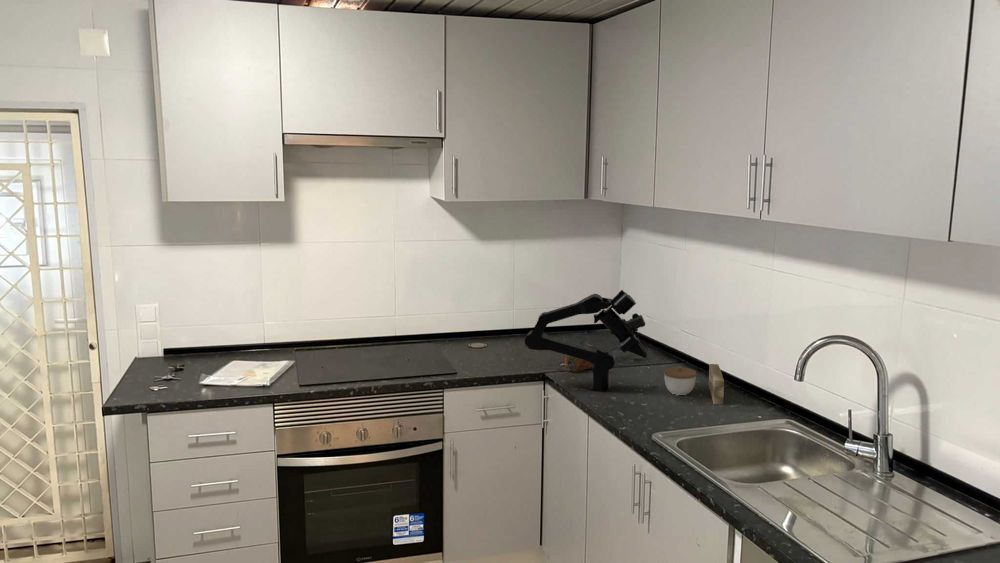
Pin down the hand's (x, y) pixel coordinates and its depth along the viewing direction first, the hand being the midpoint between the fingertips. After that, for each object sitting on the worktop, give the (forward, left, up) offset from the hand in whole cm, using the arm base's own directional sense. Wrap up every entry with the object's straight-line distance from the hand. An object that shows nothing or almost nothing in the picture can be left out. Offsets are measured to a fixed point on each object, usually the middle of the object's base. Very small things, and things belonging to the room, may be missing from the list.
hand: (646, 355), depth 256 cm
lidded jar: (+4, -11, -13) cm, 17 cm away
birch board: (+7, -22, -13) cm, 27 cm away
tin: (+14, +31, -13) cm, 36 cm away
